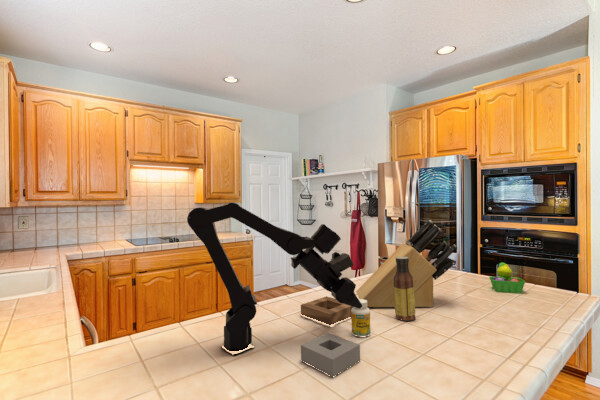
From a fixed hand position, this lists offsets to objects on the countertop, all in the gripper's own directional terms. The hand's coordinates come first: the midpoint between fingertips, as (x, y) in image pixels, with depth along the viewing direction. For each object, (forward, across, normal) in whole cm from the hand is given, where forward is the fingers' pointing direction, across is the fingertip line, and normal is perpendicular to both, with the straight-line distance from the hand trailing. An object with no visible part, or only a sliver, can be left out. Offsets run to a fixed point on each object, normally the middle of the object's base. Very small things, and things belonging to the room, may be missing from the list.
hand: (354, 302), depth 90 cm
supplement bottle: (+8, 0, +6) cm, 10 cm away
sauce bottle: (+21, +8, -8) cm, 24 cm away
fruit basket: (+62, +25, -48) cm, 82 cm away
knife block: (+27, +21, -13) cm, 37 cm away
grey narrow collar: (-2, -13, +15) cm, 20 cm away
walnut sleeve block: (+4, +16, +9) cm, 19 cm away
